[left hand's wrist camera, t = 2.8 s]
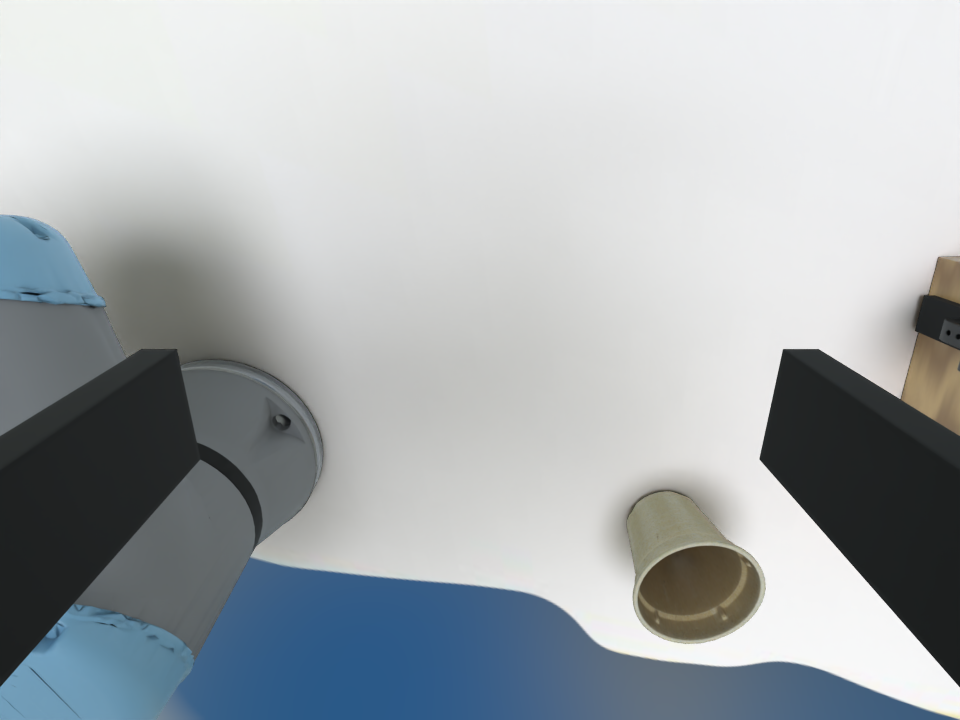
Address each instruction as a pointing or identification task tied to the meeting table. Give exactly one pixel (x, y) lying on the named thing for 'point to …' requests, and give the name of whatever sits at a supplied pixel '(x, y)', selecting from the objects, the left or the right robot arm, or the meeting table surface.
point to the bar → (937, 360)
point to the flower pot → (689, 572)
